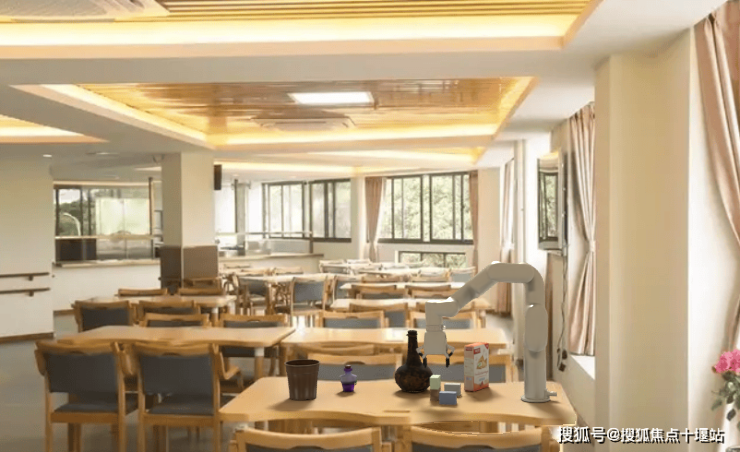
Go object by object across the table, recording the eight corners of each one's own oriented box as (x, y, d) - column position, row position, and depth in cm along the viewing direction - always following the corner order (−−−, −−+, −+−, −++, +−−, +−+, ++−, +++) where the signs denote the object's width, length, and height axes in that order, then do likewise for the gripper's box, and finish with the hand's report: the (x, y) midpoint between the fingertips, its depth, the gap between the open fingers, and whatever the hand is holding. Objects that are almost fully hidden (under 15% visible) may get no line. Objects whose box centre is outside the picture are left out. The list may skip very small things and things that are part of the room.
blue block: (456, 403, 360) (456, 391, 360) (455, 405, 356) (455, 393, 356) (440, 402, 361) (440, 391, 361) (439, 404, 358) (439, 392, 358)
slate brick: (460, 394, 377) (460, 383, 377) (459, 396, 374) (459, 384, 374) (445, 393, 379) (445, 382, 379) (444, 395, 376) (444, 384, 376)
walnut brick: (440, 397, 371) (440, 386, 371) (437, 401, 364) (437, 389, 364) (433, 397, 372) (432, 386, 372) (430, 400, 365) (429, 389, 365)
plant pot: (315, 402, 366) (314, 365, 366) (280, 401, 369) (279, 365, 369) (325, 394, 382) (324, 359, 382) (291, 393, 385) (290, 358, 385)
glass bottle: (433, 386, 395) (432, 327, 395) (432, 394, 377) (431, 332, 377) (396, 386, 397) (395, 327, 397) (393, 394, 379) (392, 333, 379)
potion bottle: (360, 391, 387) (360, 365, 387) (343, 393, 383) (343, 367, 383) (353, 388, 395) (352, 362, 395) (336, 390, 391) (335, 364, 391)
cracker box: (475, 392, 381) (474, 346, 381) (463, 390, 385) (462, 345, 385) (490, 386, 392) (489, 342, 392) (478, 385, 396) (478, 341, 396)
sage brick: (440, 386, 371) (440, 375, 371) (437, 389, 364) (437, 378, 364) (432, 386, 372) (432, 374, 372) (430, 389, 365) (429, 377, 365)
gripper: (455, 326, 369) (457, 365, 369) (417, 327, 374) (419, 365, 374) (452, 329, 362) (454, 368, 362) (413, 330, 367) (415, 368, 367)
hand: (436, 367), depth 368 cm, fingers open, 9 cm apart
